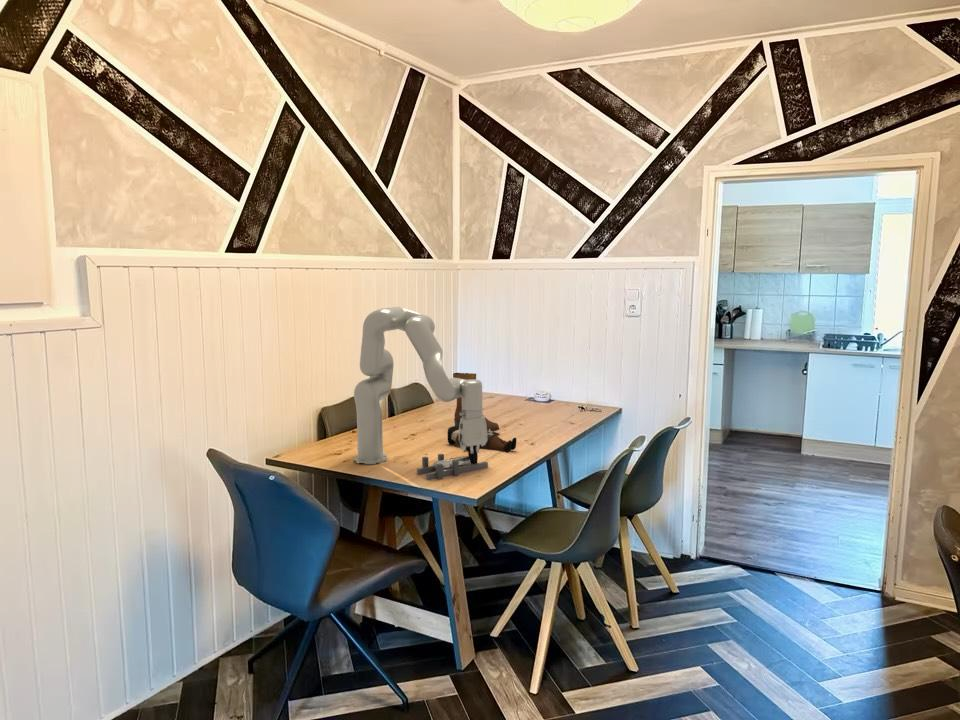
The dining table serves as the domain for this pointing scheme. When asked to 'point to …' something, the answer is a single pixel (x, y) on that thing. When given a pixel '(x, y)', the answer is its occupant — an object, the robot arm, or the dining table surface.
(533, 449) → the dining table surface
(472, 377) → the boot
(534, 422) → the dining table surface
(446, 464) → the steel tube
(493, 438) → the toy
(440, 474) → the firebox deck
